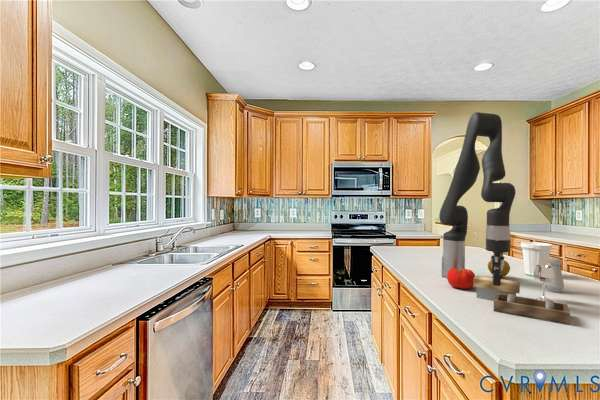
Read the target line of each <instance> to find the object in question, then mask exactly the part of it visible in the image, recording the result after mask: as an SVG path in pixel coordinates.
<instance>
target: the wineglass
mask: <svg viewBox="0 0 600 400" xmlns="http://www.w3.org/2000/svg"><path fill="white" fill-rule="evenodd" d="M533 278H534V279H535V282H537V283H540V284H541V285H542V286H541V289H542V296H536V297H535V299H538V300H544V301H546V300H551V301H552V299H551V298H548V297H546V296H545V292H546V290H545V289H546V284H549V283H551V282H553V280H554V273H553V269H552V267H551V266H550V265H548V266H545V265H536V267H535V271H534V277H533Z"/></svg>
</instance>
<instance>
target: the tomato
mask: <svg viewBox="0 0 600 400" xmlns="http://www.w3.org/2000/svg"><path fill="white" fill-rule="evenodd" d="M475 276H476V274H475V273H474V271H473V270H471V269H467V268H465V269H464V268H463V269H459V270H457V269H455V268H452V269H450V270H449V271H448V273H447V278H446V280H447V282H448V284H449V285H450V286H451V287H453V288H455V289H461V290H466V289H470V288H474V287H473V278H474V277H475Z"/></svg>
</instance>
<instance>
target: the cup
mask: <svg viewBox="0 0 600 400" xmlns="http://www.w3.org/2000/svg"><path fill="white" fill-rule="evenodd" d="M520 248H521V250H522V258H523V267H524V275H526V276H529V277H533V278H535V277H534V271H535V267H536V265H545V266H549V259H550V251H552V249H553V244H551V243H547V242H546V243H545V242H538V241H537V242H536V241H521V242H520Z"/></svg>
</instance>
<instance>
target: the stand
mask: <svg viewBox="0 0 600 400" xmlns="http://www.w3.org/2000/svg"><path fill="white" fill-rule="evenodd" d="M496 293H499V294H505V295H508V294H513V295H515V296H517V293H513V292H506V291H500V290H493V289H486V288H480V287H476V298H477V299H483V300H488V301H489V300H490V301H494V298H495V296H496Z"/></svg>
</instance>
